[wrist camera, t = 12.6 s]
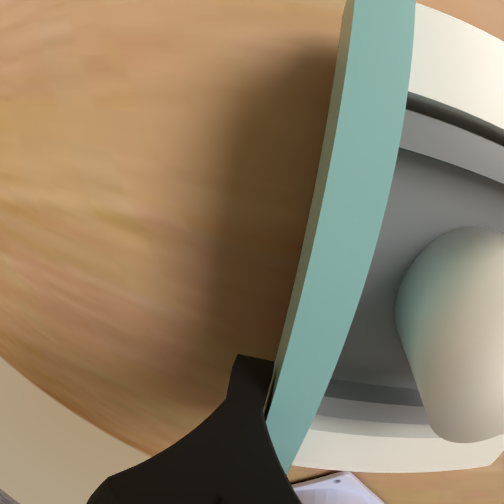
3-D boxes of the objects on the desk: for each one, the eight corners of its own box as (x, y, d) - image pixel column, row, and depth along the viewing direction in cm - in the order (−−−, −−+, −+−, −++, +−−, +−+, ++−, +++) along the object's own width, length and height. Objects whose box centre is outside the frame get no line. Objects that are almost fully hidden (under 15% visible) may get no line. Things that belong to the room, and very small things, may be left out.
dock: (583, 137, 7) (632, 145, 4) (472, 420, 13) (489, 465, 10) (379, 36, 9) (405, -1, 5) (292, 406, 14) (285, 463, 11)
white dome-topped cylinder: (422, 383, 10) (448, 464, 7) (367, 280, 9) (397, 362, 6) (529, 314, 9) (582, 374, 5) (499, 195, 8) (580, 231, 4)
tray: (585, 129, 7) (650, 139, 3) (463, 434, 12) (482, 493, 8) (342, 16, 8) (358, -49, 4) (259, 417, 13) (243, 490, 10)
